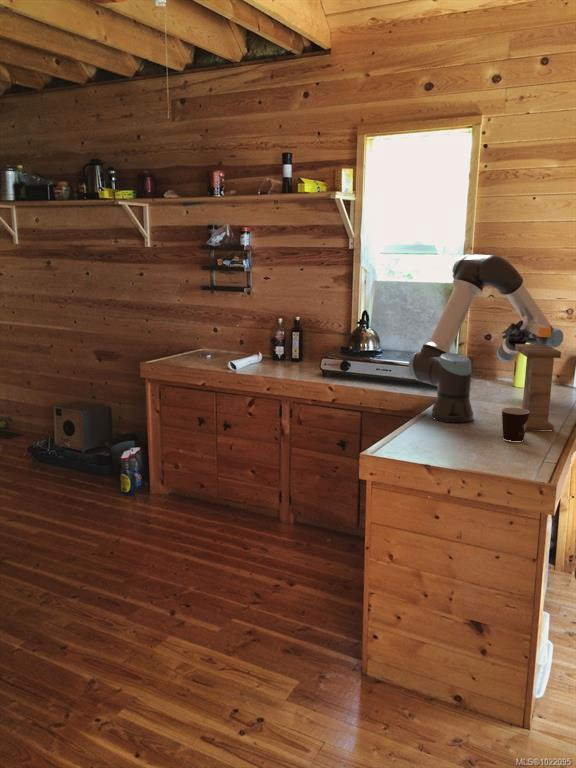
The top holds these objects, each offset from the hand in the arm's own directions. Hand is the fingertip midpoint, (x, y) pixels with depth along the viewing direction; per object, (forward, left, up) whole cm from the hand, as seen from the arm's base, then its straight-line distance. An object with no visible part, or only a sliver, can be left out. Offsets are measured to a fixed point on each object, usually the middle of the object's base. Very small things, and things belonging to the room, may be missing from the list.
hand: (531, 318), depth 240 cm
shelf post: (-9, -9, -37) cm, 39 cm away
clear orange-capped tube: (-3, -3, -4) cm, 6 cm away
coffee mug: (-28, -17, -37) cm, 49 cm away
